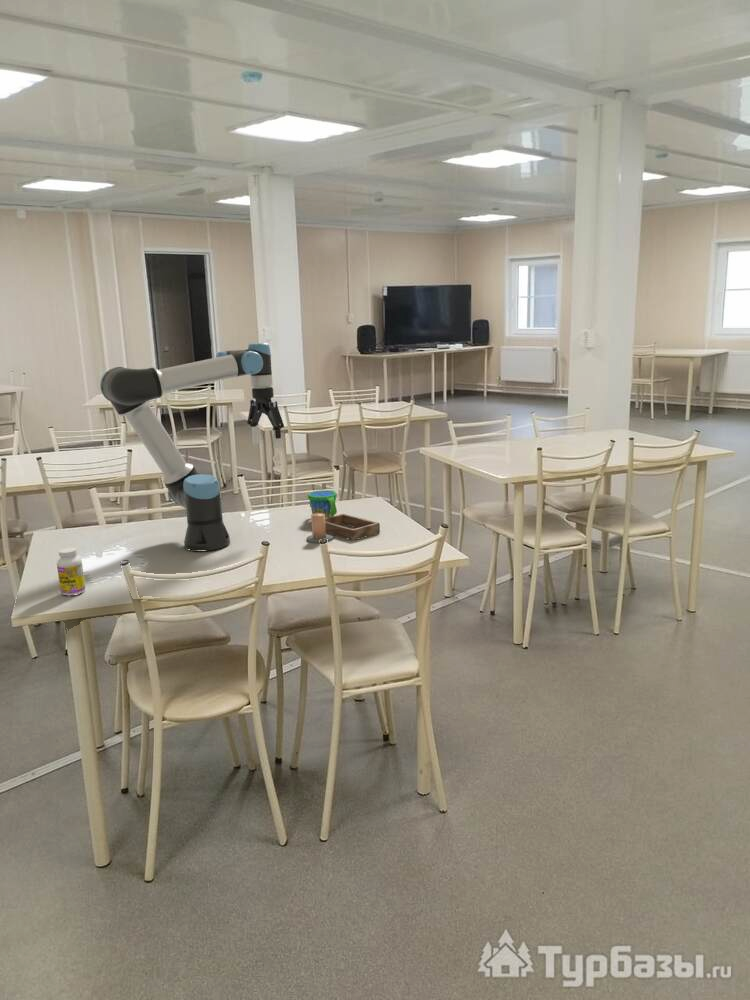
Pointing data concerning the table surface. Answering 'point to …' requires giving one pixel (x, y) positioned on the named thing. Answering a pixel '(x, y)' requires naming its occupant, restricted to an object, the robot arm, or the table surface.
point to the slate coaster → (310, 539)
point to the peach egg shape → (318, 526)
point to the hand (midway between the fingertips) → (266, 445)
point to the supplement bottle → (70, 572)
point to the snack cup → (323, 502)
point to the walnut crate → (362, 525)
